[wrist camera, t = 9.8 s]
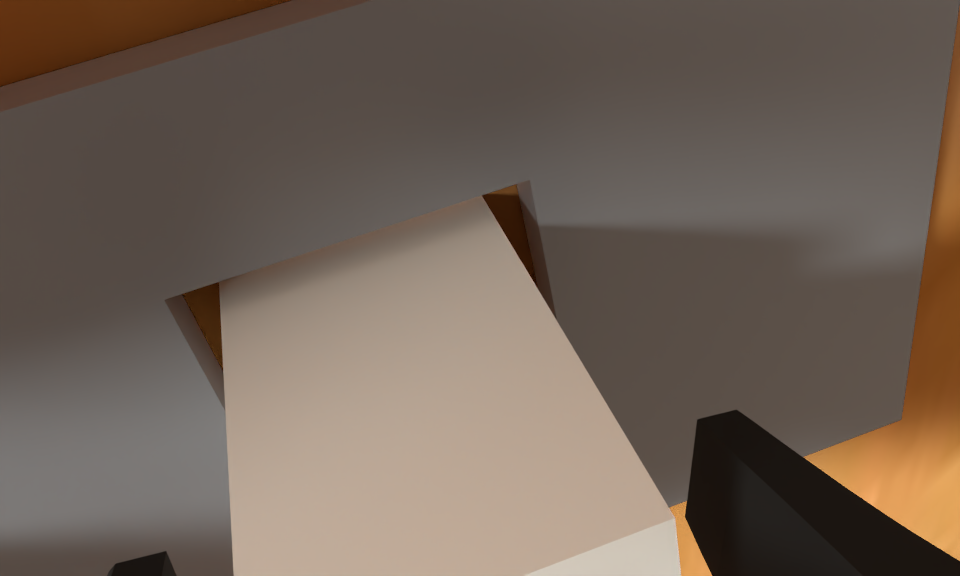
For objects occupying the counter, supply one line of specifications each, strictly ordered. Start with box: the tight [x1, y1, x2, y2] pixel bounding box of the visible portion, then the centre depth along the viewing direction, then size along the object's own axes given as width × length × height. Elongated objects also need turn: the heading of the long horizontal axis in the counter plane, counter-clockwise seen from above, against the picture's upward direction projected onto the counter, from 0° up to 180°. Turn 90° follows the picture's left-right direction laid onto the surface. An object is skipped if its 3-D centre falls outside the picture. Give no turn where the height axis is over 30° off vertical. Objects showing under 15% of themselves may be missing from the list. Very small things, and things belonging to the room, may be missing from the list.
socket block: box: [0, 0, 960, 576], centre depth 12 cm, size 23×12×7 cm, turn 102°
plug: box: [219, 196, 681, 576], centre depth 12 cm, size 4×4×7 cm
